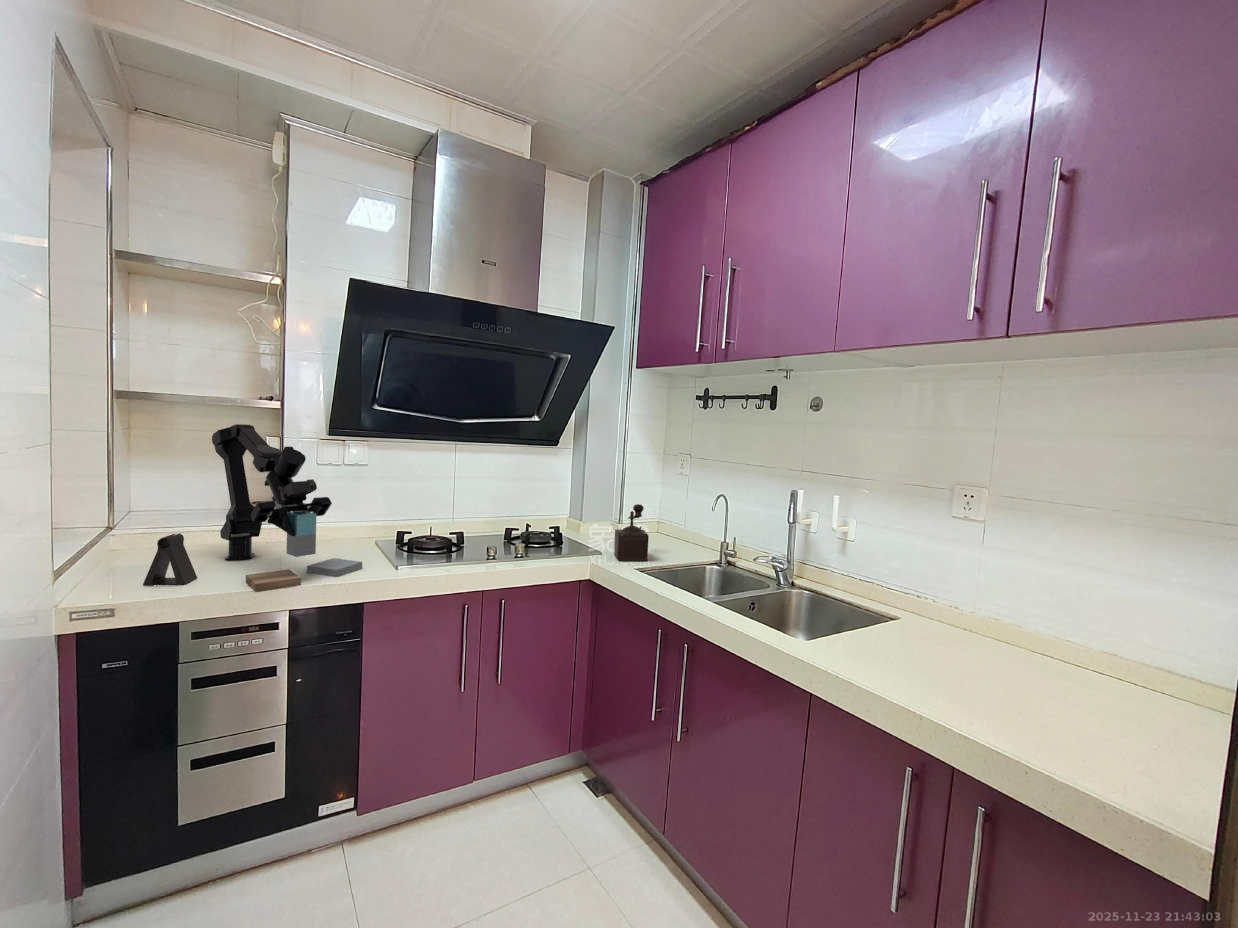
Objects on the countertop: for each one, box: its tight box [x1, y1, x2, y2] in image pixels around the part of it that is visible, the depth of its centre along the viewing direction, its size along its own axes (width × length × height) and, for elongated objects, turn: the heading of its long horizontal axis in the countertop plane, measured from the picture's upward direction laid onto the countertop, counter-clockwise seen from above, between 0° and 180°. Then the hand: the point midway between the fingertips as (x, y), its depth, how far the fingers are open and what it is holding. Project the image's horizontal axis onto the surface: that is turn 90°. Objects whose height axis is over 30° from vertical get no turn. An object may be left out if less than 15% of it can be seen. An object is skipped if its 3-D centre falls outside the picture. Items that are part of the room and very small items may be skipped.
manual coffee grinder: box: [613, 503, 649, 563], centre depth 194 cm, size 16×11×18 cm
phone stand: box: [142, 532, 198, 587], centre depth 139 cm, size 9×6×12 cm, turn 104°
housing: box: [286, 511, 317, 558], centre depth 146 cm, size 5×5×11 cm
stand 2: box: [306, 557, 363, 578], centre depth 157 cm, size 10×10×2 cm
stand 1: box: [245, 569, 302, 593], centre depth 142 cm, size 10×10×2 cm
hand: (304, 533), depth 146 cm, fingers closed on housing, 5 cm apart
